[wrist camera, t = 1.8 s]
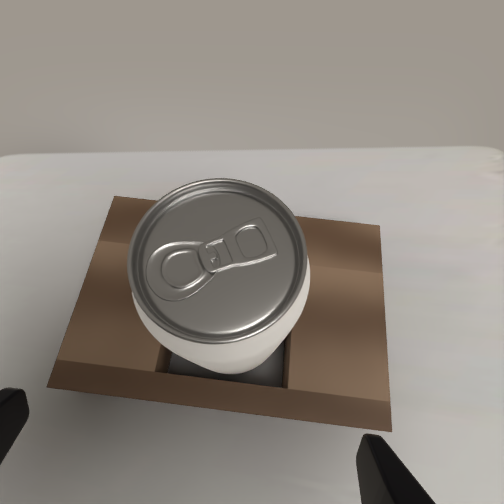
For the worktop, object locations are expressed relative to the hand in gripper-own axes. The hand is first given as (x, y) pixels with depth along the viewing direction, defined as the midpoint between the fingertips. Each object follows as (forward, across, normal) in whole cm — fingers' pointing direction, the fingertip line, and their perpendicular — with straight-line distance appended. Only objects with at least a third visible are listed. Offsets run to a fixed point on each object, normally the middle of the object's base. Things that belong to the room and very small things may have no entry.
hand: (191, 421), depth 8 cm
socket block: (+12, 0, +5) cm, 13 cm away
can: (+12, 0, +5) cm, 13 cm away
